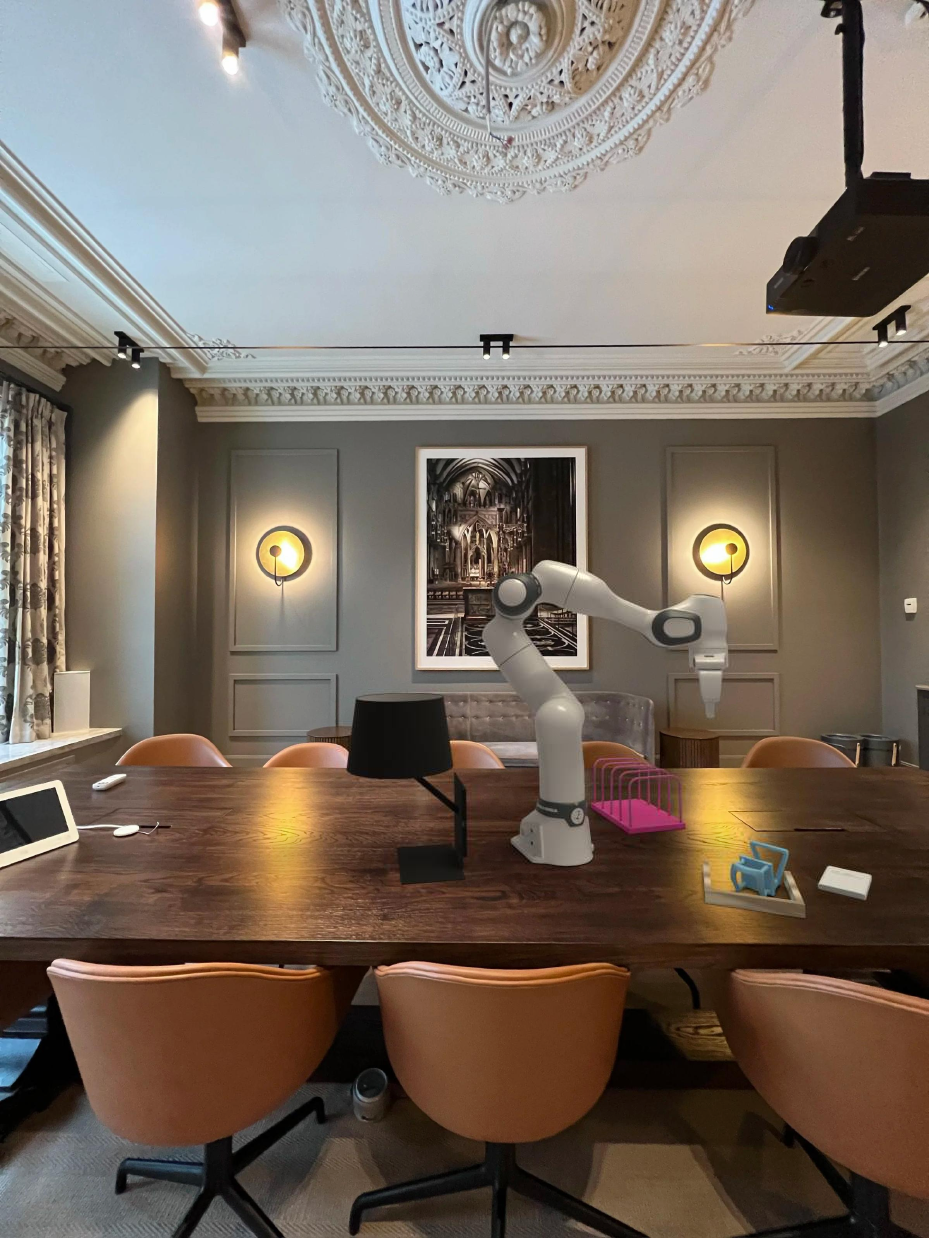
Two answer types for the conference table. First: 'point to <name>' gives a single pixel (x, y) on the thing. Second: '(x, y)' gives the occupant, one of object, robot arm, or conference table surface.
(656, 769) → the file sorter
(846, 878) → the external hard drive
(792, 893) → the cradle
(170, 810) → the conference table surface
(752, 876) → the chair
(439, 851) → the table lamp
